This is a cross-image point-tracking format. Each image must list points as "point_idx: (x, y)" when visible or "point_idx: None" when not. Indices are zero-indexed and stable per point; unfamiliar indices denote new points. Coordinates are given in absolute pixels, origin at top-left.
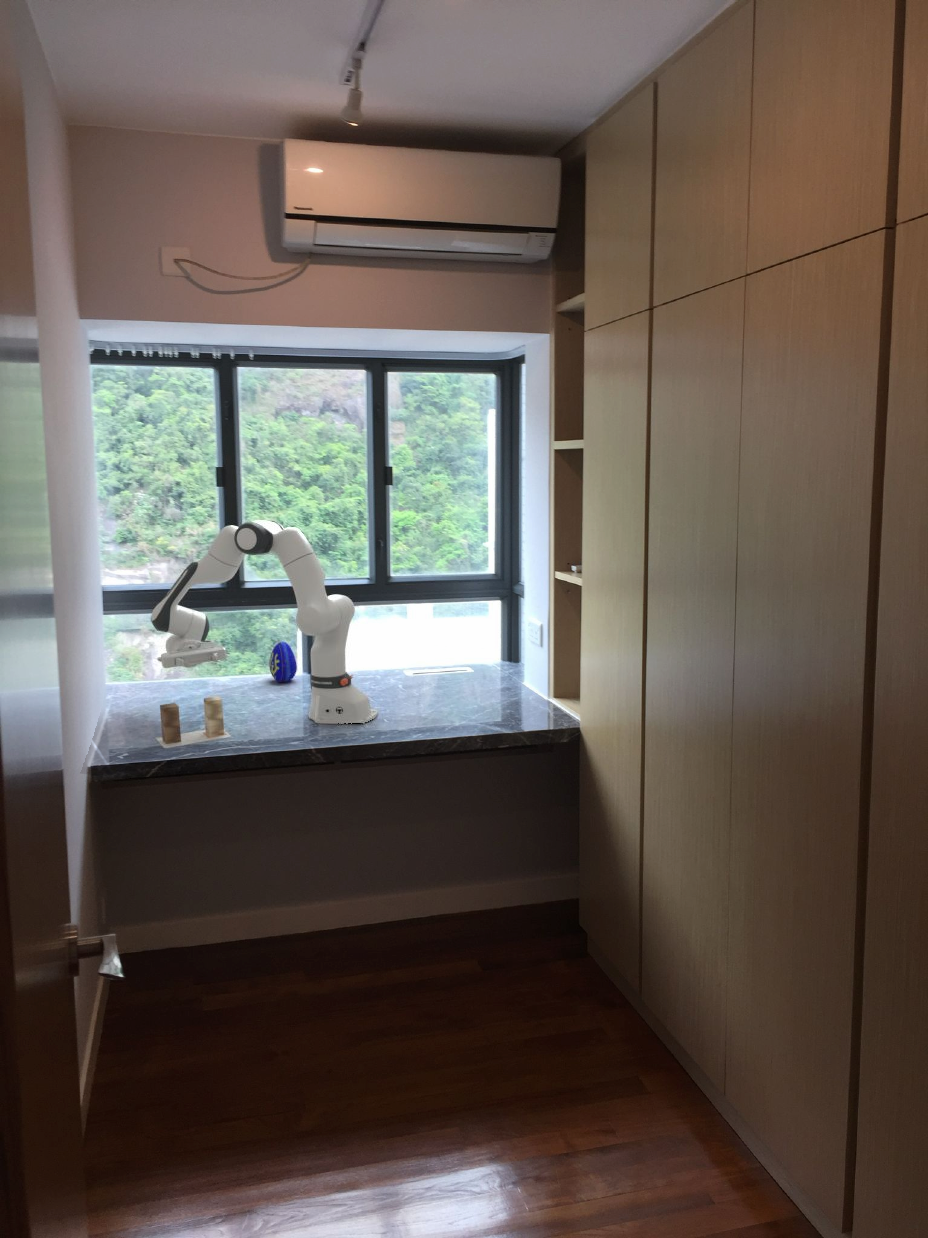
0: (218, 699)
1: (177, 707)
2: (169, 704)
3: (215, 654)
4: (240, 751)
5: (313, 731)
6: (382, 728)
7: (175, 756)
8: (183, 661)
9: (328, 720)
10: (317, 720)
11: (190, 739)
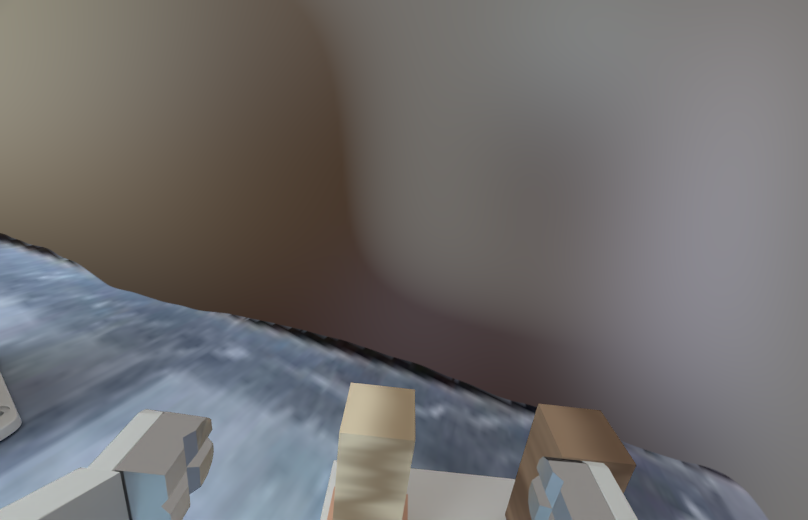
0: (363, 389)
1: (542, 407)
2: (585, 447)
3: (61, 483)
4: (366, 373)
5: (120, 383)
6: (16, 319)
7: (520, 426)
8: (588, 463)
9: (6, 395)
10: (16, 415)
11: (469, 517)
